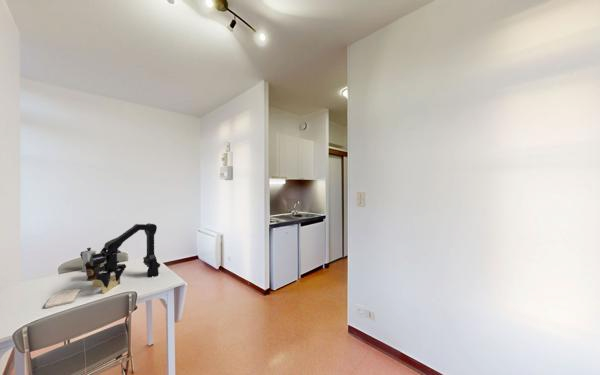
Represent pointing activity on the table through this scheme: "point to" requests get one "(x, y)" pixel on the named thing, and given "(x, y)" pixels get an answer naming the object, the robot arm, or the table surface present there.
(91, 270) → the brown rounded piece
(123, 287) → the table surface
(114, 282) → the swing leaf
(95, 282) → the block
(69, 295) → the washcloth
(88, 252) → the coffee maker
